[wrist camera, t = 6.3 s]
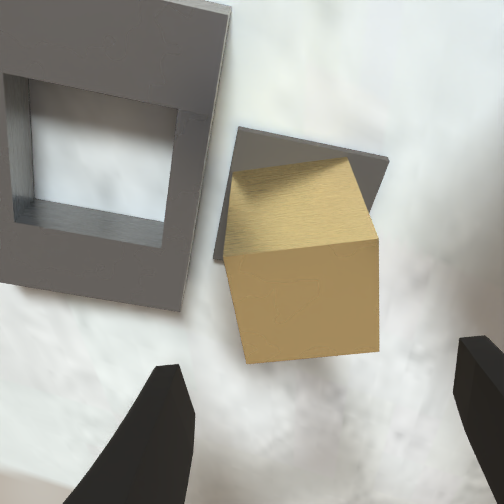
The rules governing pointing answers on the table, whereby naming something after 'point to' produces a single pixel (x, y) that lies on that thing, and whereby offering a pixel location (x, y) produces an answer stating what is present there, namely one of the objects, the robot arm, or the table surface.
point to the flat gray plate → (291, 152)
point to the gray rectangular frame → (121, 85)
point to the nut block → (302, 262)
